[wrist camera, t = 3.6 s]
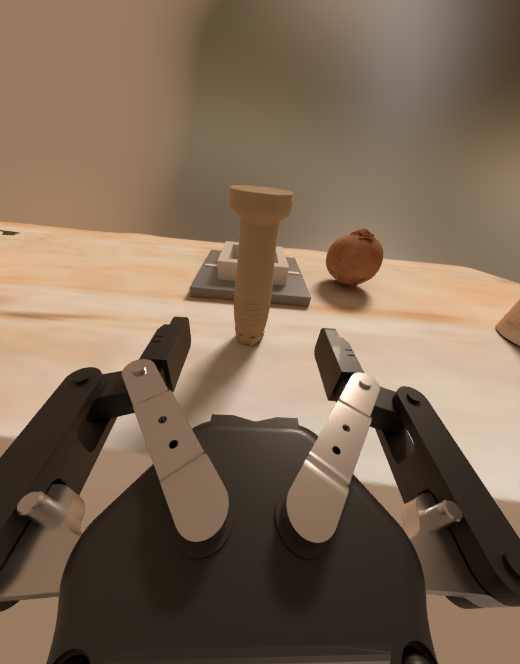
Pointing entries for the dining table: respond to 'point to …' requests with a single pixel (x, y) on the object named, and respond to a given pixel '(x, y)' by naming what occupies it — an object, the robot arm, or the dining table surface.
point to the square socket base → (221, 277)
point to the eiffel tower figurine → (8, 232)
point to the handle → (256, 255)
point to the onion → (354, 257)
